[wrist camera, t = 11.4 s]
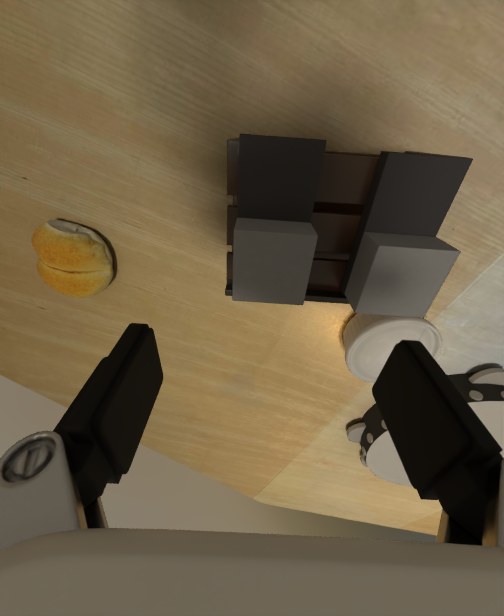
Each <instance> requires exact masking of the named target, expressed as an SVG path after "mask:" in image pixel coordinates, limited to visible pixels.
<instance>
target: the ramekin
mask: <svg viewBox="0 0 504 616" xmlns="http://www.w3.org/2000/svg"><path fill="white" fill-rule="evenodd" d="M401 340H416V341H420V342H421V343H422V344H423V345H424V346H425V347H426V349H427V350H428V351H429V353H430V354H431V355H432V357H433V358H434V359H436V358H437V356H438V355H439V353H440V351H441V347H442V338H441V335H440V333H439V331H438V330H437V329H436V328H435V326H434V325H433V324H431V323H430V322H429V321H427V320H425V319H423V318H421V317H408V316H393V315H378V314H364V313H357V314H356V315H355V316H354V317H353V318H352V319H351V320H350V321H349V323H348V324H347V326H346V328H345V331H344V335H343V341H344V347H345V361H346V364H347V367H348V369H349V370H350V372H351V373H352V374H353V375H354V376H355V377H357V378H359V379H361V380H363V381H366V382H369V383H375V382H376V380H377V378H378V376H379V374H380V372H381V370H382V369H383V367H384V365H385V363H386V361H387V359H388V357H389V355H390V354H391V352H392V350H393V348H394V346H395V345H396V344H397V343H399V342H400V341H401Z"/></svg>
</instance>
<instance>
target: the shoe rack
mask: <svg viewBox="0 0 504 616" xmlns="http://www.w3.org/2000/svg"><path fill="white" fill-rule="evenodd" d="M405 153H412V154H426V155H439V156H449V155H440V154H431V153H422V152H411V151H406V152H405ZM379 156H380V155H377V154H364V153H351V152H338V151H324V156H323V161H322V166H321V171H320V176H319V182H318V187H317V192H316V197H315V202H314V208H313V213H312V218H311V224H312V226H313V228H314V230H315V232H316V233H317V235H318V238H317V243H316V248H315V252H314V257H313V262H312V266H311V271H310V276H309V280H308V285H307V289H306V294H305V299H304V301H315V302H330V303H345V304H350V303H349V301H348V299H347V297H346V295H344V294H343V293H342V291H341V289H340V286H341V282H342V279H343V276H344V273H345V269H346V266H347V263H348V259H349V256H350V253H351V249H352V246H353V243H354V239H355V236H356V233H357V229H358V226H359V223H360V219H361V216H362V213H363V209H364V206H365V203H366V199H367V196H368V193H369V189H370V186H371V183H372V179H373V176H374V173H375V169H376V166H377V163H378V159H379ZM452 157H458V156H452ZM463 158H466V157H463ZM238 173H239V138H235V139H229V140H228V151H227V195H232V196H233V205H228V206H227V245H232V252H227V285H226V289H225V295H227V296H232V290H233V243H234V228H235V224H236V221H237V208H238Z"/></svg>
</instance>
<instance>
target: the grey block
mask: <svg viewBox="0 0 504 616" xmlns="http://www.w3.org/2000/svg"><path fill="white" fill-rule="evenodd" d="M472 160H473V159H472V158H463V157H452V156H439V155H426V154H412V153H399V152H386V151H381V153H380V156H379V159H378V163H377V166H376V169H375V173H374V176H373V179H372V183H371V186H370V189H369V193H368V196H367V199H366V203H365V206H364V209H363V213H362V216H361V219H360V223H359V226H358V229H357V233H356V236H355V239H354V243H353V246H352V249H351V253H350V256H349V259H348V263H347V266H346V269H345V273H344V276H343V279H342V282H341V286H340V289H341V291H342V293H343V294H344V295H346V297H347V299H348V301H349V303H350V305H351V307H352V309H353V310H354V312H355V313H364V314H378V315H393V316H408V317H424V316H425V315H426V313H427V311H428V309H429V308H430V306H431V304H432V302H433V300H434V299H435V297H436V295H437V293H438V292H439V290H440V288H441V286H442V284H443V283H444V281H445V279H446V277H447V276H448V274H449V272H450V270H451V268H452V267H453V265H454V263H455V261H456V260H457V258H458V256H459V254H460V252H461V251H459V250H457V249H456V248H454V247H452V246H451V245H449V244H447V243H445V242H444V241H442V240H440V239H439V238H437V237H436V235H437V233H438V230H439V228H440V226H441V224H442V222H443V220H444V218H445V216H446V214H447V212H448V210H449V208H450V206H451V204H452V202H453V200H454V197H455V195H456V193H457V191H458V189H459V187H460V185H461V183H462V181H463V179H464V177H465V175H466V173H467V171H468V169H469V167H470V164H471V162H472Z"/></svg>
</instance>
